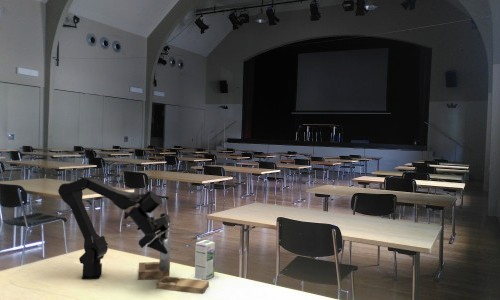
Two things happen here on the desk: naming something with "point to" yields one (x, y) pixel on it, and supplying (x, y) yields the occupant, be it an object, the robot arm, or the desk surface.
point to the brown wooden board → (183, 284)
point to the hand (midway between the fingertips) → (168, 251)
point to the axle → (165, 255)
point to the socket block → (151, 271)
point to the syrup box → (204, 259)
